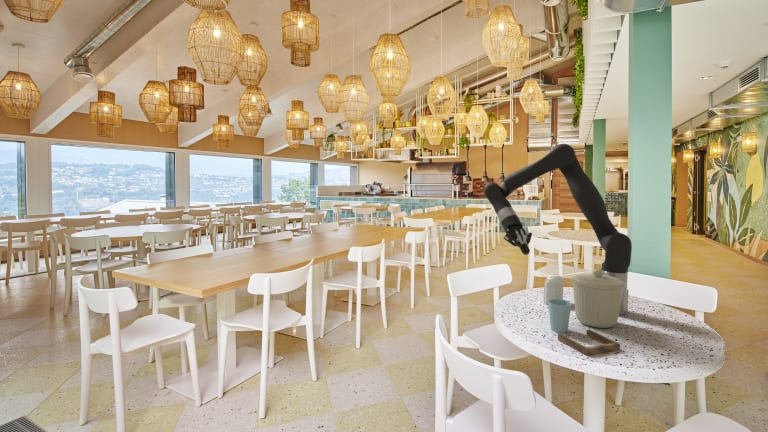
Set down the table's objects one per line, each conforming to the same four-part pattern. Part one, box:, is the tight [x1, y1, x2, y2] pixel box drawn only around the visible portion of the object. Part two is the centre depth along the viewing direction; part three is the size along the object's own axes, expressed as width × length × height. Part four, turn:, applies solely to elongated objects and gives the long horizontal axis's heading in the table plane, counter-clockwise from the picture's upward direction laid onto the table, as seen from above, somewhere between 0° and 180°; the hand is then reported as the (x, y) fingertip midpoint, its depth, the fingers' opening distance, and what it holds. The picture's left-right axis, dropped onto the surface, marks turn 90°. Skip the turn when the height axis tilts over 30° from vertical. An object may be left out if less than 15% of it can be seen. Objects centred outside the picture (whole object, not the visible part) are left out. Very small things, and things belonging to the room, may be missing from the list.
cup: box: [548, 299, 573, 334], centre depth 135 cm, size 8×8×10 cm
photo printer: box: [543, 274, 564, 306], centre depth 165 cm, size 10×4×12 cm, turn 123°
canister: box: [570, 268, 626, 329], centre depth 140 cm, size 18×18×21 cm
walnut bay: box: [557, 329, 621, 356], centre depth 122 cm, size 13×12×2 cm
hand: (527, 253), depth 146 cm, fingers closed
